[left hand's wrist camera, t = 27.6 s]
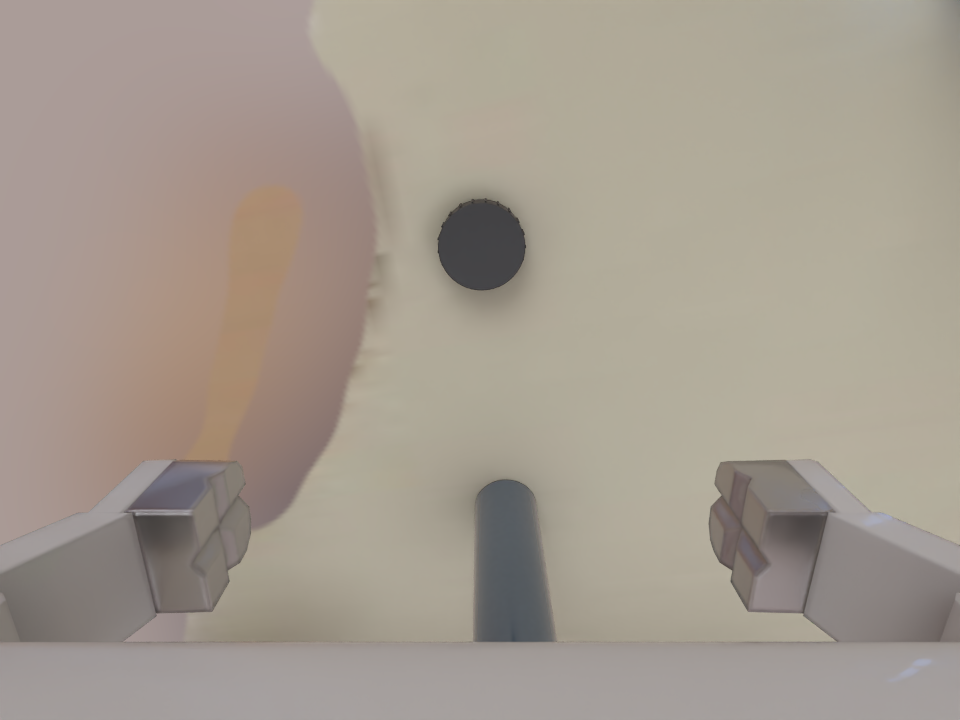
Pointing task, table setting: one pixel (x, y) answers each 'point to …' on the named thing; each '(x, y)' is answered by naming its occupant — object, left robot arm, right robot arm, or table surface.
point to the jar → (510, 568)
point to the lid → (481, 244)
